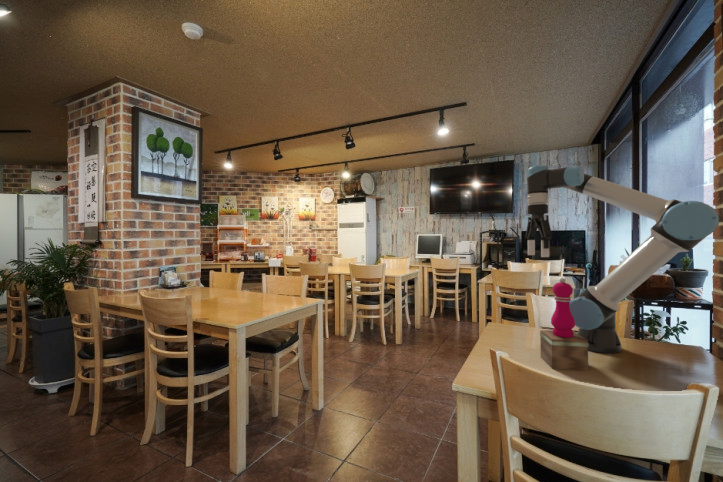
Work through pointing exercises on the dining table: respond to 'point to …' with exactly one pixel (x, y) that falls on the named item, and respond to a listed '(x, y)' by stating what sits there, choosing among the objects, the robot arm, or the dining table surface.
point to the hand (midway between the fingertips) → (537, 256)
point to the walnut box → (564, 351)
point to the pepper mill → (562, 310)
